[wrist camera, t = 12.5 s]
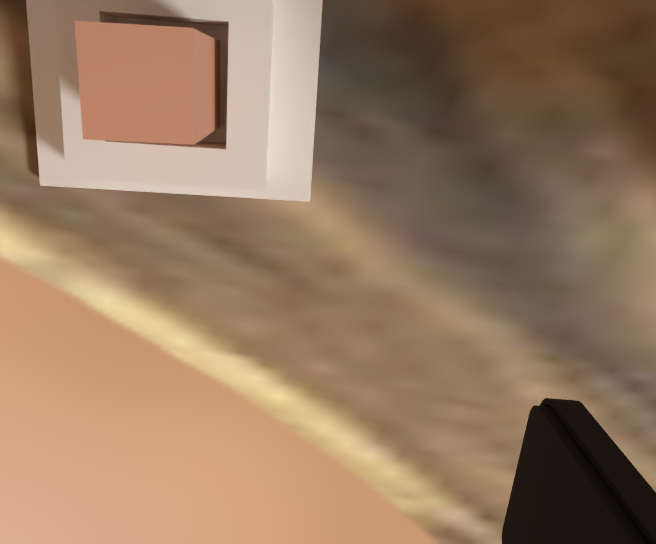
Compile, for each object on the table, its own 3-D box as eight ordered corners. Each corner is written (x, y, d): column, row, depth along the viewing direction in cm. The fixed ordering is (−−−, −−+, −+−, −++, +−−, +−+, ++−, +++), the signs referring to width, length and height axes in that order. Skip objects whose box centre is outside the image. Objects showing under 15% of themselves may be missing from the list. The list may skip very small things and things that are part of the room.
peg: (220, 41, 31) (192, 27, 23) (220, 126, 33) (194, 144, 24) (134, 36, 31) (74, 20, 23) (138, 122, 33) (82, 139, 24)
